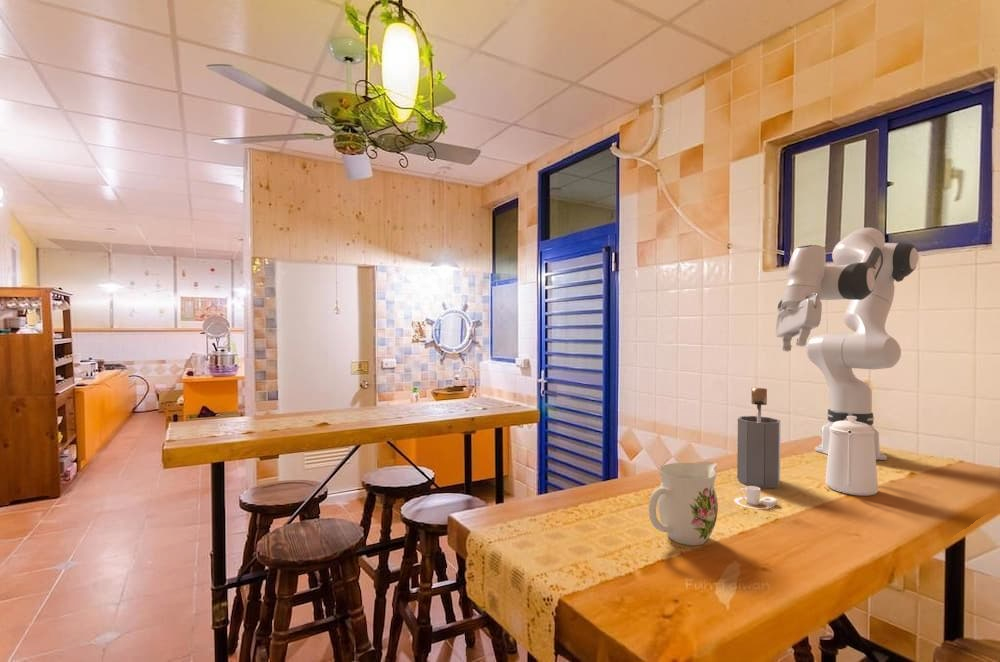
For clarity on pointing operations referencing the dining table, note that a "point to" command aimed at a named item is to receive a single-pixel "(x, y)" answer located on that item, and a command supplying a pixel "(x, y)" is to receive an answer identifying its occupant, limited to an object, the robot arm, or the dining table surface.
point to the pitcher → (686, 502)
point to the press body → (758, 452)
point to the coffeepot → (852, 458)
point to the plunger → (759, 400)
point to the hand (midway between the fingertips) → (793, 348)
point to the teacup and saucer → (755, 498)
